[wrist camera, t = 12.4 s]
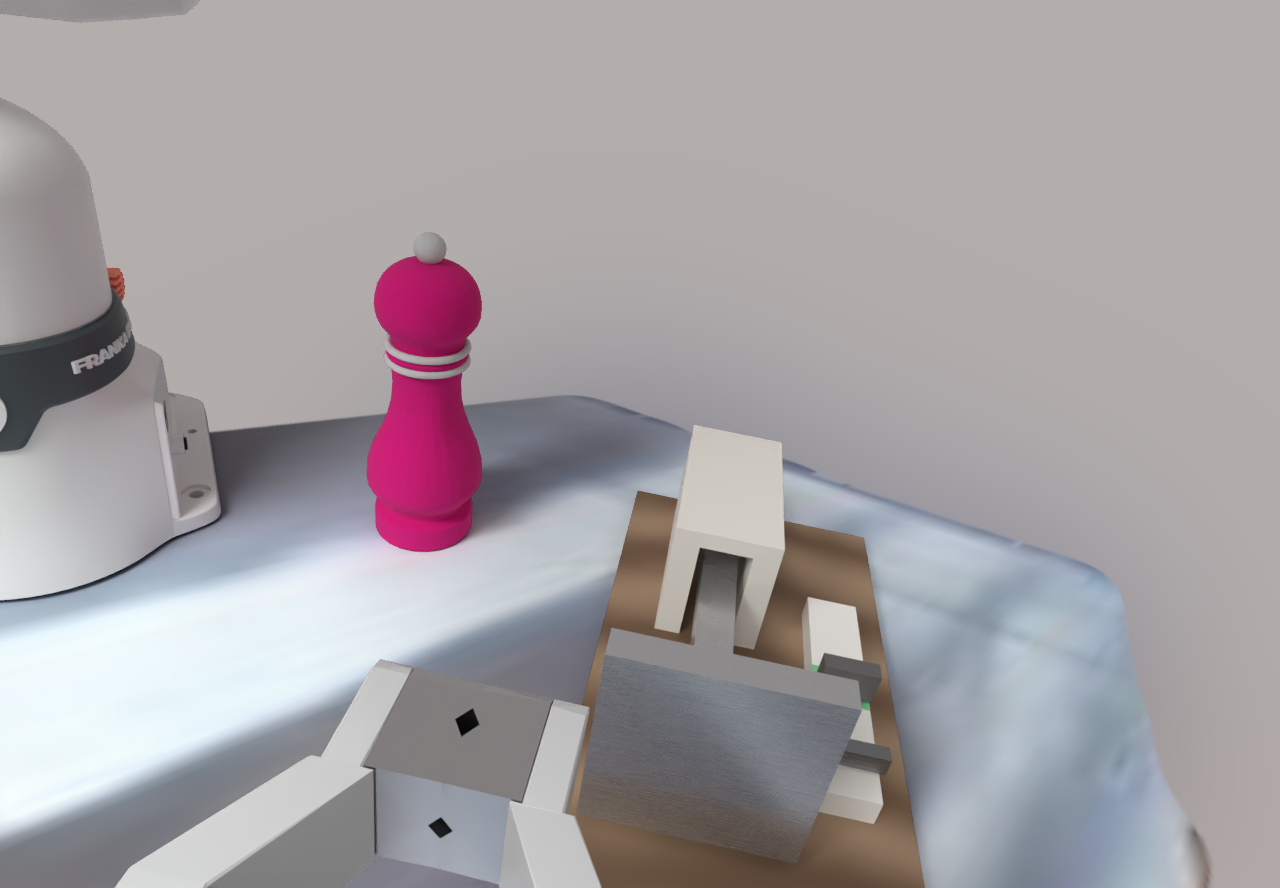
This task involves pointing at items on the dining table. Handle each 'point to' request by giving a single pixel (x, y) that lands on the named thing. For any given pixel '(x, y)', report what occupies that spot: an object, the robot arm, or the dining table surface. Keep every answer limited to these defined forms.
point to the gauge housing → (727, 525)
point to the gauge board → (811, 567)
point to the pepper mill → (425, 401)
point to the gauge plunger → (718, 734)
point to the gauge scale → (839, 635)
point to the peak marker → (853, 673)
